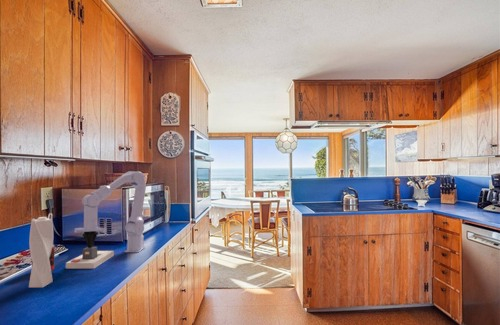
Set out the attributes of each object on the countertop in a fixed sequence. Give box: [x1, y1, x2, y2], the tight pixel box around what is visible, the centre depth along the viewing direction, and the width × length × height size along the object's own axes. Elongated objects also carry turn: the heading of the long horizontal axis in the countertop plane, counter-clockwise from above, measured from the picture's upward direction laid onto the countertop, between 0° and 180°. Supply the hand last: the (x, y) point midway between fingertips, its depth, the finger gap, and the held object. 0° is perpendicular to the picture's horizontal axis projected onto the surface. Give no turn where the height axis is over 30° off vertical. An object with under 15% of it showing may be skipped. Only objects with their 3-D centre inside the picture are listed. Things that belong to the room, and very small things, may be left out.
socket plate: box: [65, 250, 115, 270], centre depth 132 cm, size 18×13×3 cm
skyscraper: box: [28, 212, 54, 288], centre depth 107 cm, size 8×8×28 cm
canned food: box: [31, 243, 55, 272], centre depth 120 cm, size 8×8×11 cm
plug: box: [82, 246, 98, 259], centre depth 132 cm, size 7×4×6 cm
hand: (90, 247), depth 132 cm, fingers closed
